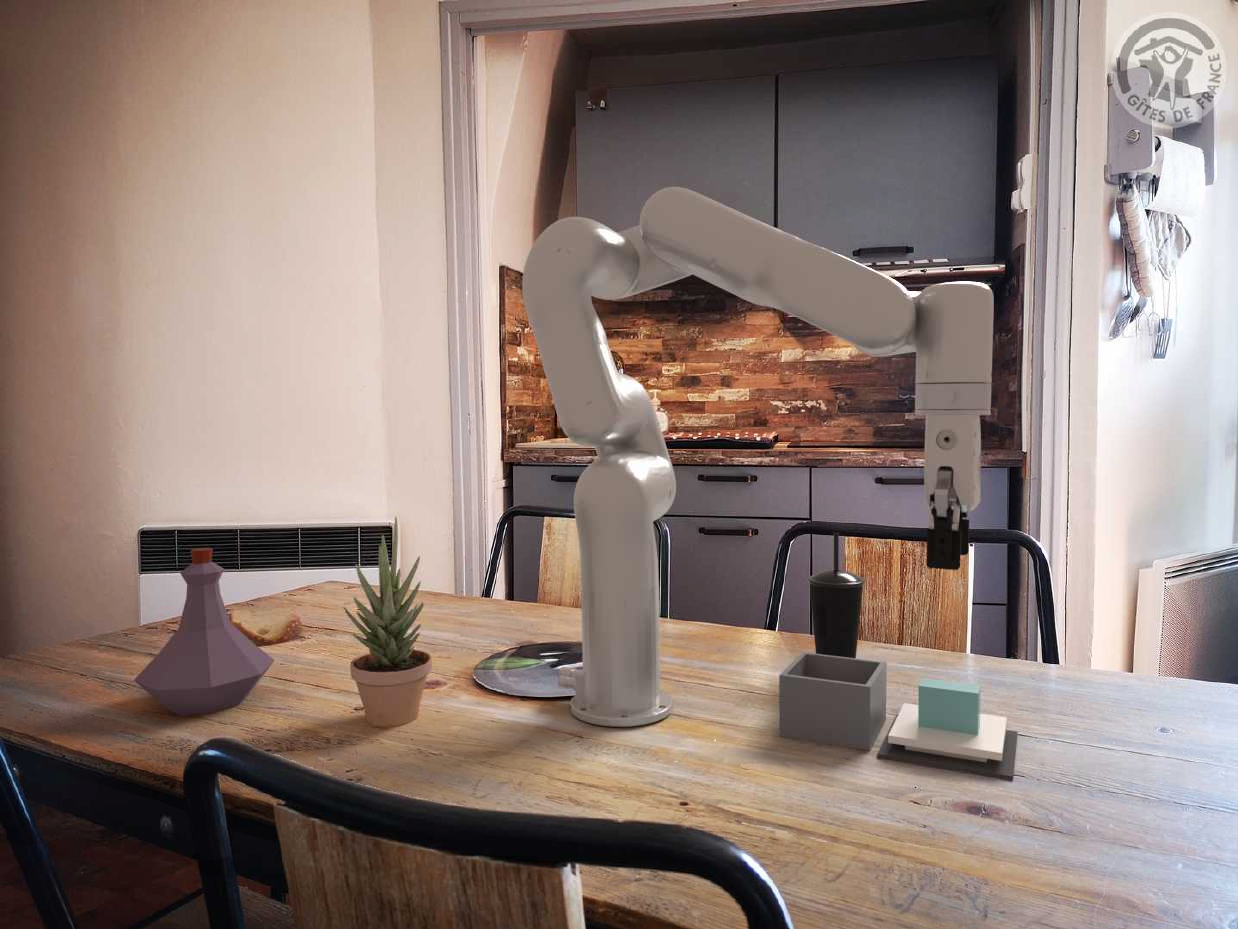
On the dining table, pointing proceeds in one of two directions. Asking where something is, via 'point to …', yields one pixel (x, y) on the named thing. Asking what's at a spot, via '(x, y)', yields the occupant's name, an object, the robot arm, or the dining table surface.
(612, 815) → the dining table surface
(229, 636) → the flask
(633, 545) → the robot arm
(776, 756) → the dining table surface
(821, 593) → the drinking cup
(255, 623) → the slice of bread
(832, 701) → the storage box
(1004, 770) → the mat
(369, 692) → the potted plant
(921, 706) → the lid
